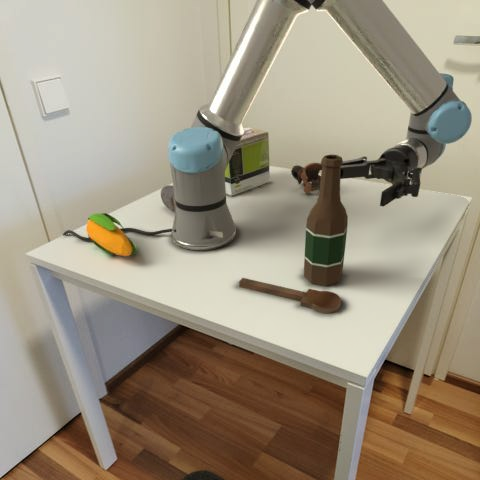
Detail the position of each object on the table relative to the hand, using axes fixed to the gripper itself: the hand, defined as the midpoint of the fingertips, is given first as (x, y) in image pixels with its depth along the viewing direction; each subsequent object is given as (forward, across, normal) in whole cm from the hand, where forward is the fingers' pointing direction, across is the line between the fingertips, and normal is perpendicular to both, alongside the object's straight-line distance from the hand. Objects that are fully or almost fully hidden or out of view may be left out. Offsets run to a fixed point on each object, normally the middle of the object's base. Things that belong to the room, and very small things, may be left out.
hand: (350, 191), depth 86 cm
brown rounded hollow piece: (-31, +30, -16) cm, 46 cm away
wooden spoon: (+17, 0, -16) cm, 23 cm away
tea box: (-21, +48, -16) cm, 55 cm away
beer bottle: (+8, 0, -16) cm, 17 cm away
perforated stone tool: (+3, +49, -16) cm, 51 cm away
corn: (+27, +44, -16) cm, 54 cm away
